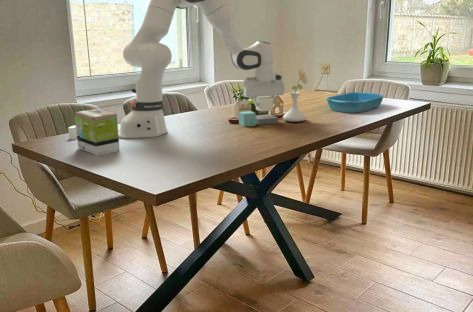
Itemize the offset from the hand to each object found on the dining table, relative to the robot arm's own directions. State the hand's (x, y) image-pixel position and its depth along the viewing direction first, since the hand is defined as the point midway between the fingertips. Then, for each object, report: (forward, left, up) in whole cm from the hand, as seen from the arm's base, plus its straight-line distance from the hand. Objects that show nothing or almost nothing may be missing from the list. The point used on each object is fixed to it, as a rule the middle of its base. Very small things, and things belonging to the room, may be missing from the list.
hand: (264, 105), depth 232 cm
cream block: (0, 0, -2) cm, 2 cm away
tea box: (-80, -23, -8) cm, 84 cm away
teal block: (-10, -3, -8) cm, 13 cm away
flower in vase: (+15, -4, -8) cm, 18 cm away
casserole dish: (+61, +13, -8) cm, 63 cm away
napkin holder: (-86, +5, -9) cm, 86 cm away
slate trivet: (0, 0, -8) cm, 8 cm away
